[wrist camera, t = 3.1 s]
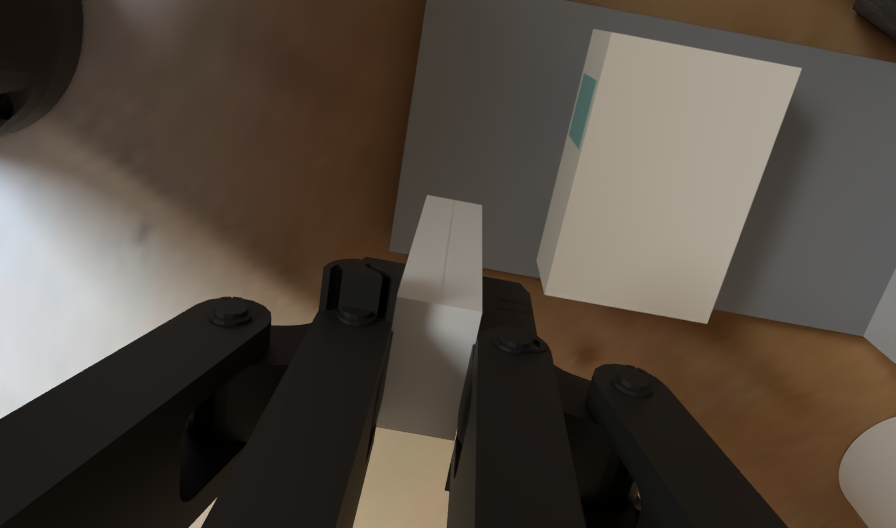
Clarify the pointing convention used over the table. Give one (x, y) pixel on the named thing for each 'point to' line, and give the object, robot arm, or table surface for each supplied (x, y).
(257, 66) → the table surface
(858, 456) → the cup
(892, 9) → the hammer
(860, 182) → the grey base with uprights
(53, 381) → the table surface
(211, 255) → the table surface
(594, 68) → the carton
